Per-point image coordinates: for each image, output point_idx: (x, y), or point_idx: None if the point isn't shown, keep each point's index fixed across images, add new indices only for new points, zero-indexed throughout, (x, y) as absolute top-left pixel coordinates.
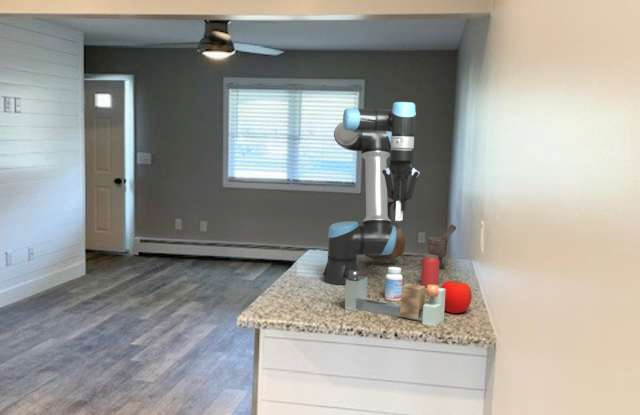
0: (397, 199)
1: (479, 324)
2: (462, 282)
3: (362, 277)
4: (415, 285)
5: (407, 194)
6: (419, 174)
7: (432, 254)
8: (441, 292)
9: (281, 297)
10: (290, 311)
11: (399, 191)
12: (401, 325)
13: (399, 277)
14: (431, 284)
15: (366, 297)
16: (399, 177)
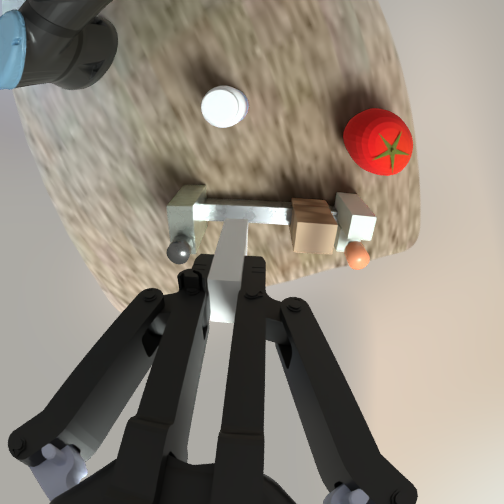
0: (208, 314)
1: (408, 192)
2: (402, 138)
3: (186, 215)
4: (317, 230)
5: (288, 362)
6: (404, 487)
7: None
8: (370, 239)
9: (80, 219)
10: (135, 271)
11: (195, 335)
12: (300, 254)
13: (241, 116)
14: (355, 252)
15: (202, 190)
16: (160, 450)
